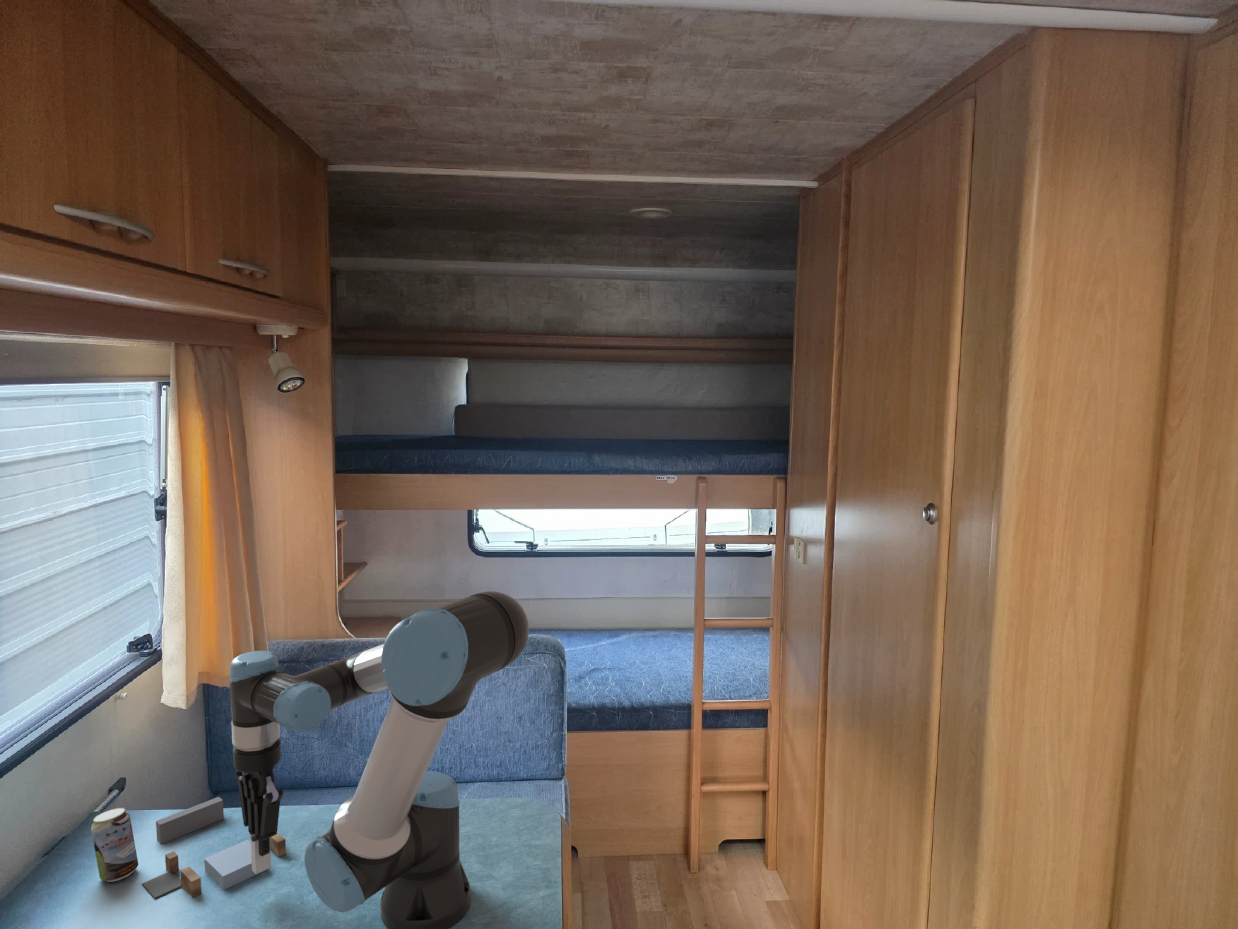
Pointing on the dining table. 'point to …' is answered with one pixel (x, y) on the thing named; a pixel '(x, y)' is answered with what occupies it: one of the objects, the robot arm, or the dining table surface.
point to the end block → (189, 820)
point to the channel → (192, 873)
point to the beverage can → (114, 845)
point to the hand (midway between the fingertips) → (261, 868)
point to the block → (230, 865)
